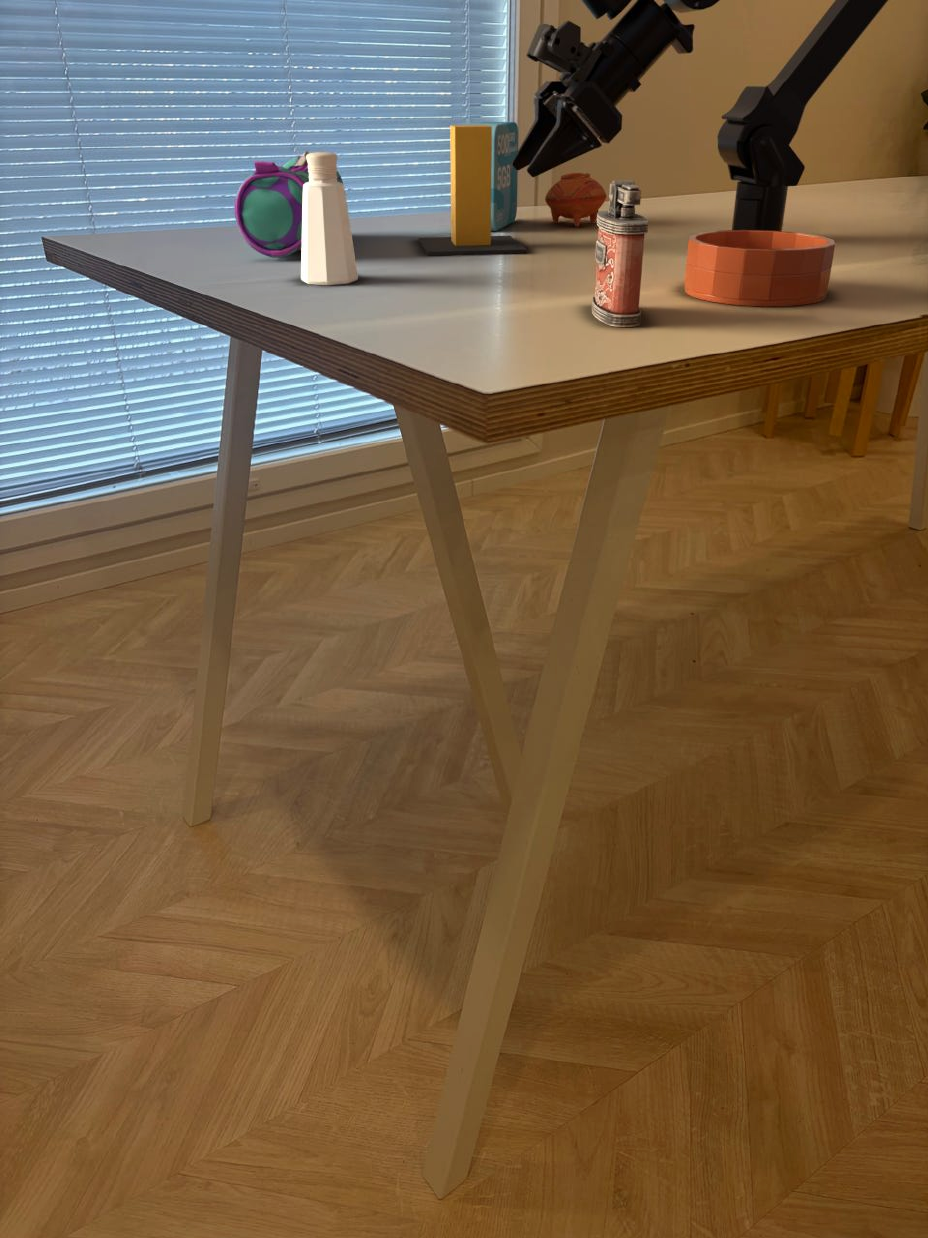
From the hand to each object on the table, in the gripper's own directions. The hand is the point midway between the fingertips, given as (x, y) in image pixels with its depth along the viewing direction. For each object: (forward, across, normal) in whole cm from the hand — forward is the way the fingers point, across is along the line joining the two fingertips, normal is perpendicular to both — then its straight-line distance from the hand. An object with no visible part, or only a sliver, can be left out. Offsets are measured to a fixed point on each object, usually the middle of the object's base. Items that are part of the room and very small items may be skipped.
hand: (521, 170), depth 110 cm
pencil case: (+24, -3, -12) cm, 27 cm away
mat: (+10, 0, +2) cm, 10 cm away
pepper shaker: (+21, +19, -10) cm, 30 cm away
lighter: (+5, +39, +6) cm, 40 cm away
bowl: (-5, +31, +17) cm, 36 cm away
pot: (-2, -18, +13) cm, 22 cm away
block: (+9, 0, +1) cm, 9 cm away
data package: (+6, -18, +5) cm, 19 cm away
